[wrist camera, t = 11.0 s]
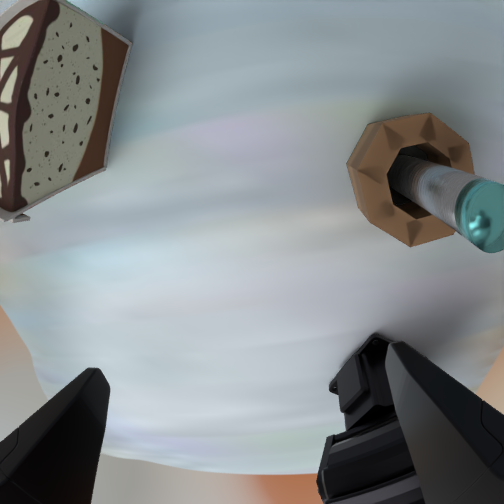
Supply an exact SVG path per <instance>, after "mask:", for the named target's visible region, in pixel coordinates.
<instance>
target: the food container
mask: <svg viewBox="0 0 504 504" xmlns="http://www.w3.org/2000/svg"><path fill="white" fill-rule="evenodd" d="M132 45H133V43H131V42H130V41H129V40H127V39H126V38H124V37H123V36H121V35H120V34H118V33H117V32H115V31H114V30H112V29H111V28H109V27H108V26H106V25H105V24H103V23H102V22H100V21H99V20H97V19H95V18H94V17H92V16H91V15H89V14H88V13H86V12H84V11H83V10H81V9H80V8H78V7H76V6H75V5H73V4H71V3H70V2H68V1H66V0H18V1H16V2H15V3H14V4H12V5H11V6H10V7H8V8H7V9H6V10H5V11H4V12H3V13H2V14H1V15H0V220H2V221H4V222H5V221H10V222H12V223H16V222H22V221H28V220H30V217H29V216H27V215H25V214H23V212H25V211H27V210H28V209H30V208H32V207H34V206H35V205H37V204H39V203H41V202H43V201H45V200H46V199H48V198H50V197H52V196H54V195H56V194H58V193H60V192H62V191H64V190H66V189H67V188H69V187H71V186H73V185H75V184H77V183H79V182H82V181H84V180H86V179H88V178H90V177H92V176H94V175H96V174H98V173H100V172H103V171H105V170H106V165H107V158H108V152H109V145H110V140H111V134H112V129H113V123H114V118H115V113H116V108H117V104H118V99H119V95H120V90H121V86H122V82H123V78H124V74H125V70H126V66H127V62H128V59H129V55H130V51H131V48H132Z"/></svg>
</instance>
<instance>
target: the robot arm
mask: <svg viewBox="0 0 504 504" xmlns="http://www.w3.org/2000/svg"><path fill="white" fill-rule="evenodd" d="M374 340H377V341H376V342H373V341H374ZM333 387H336V388H333ZM329 391H330V392H331V393H334V394H337V395H339V404H340V411H341V412H342V413H344V416H345V426H346V431H345V432H342V433H340V434H337V435H331V436H328V437H327V439H326V443H325V447H324V451H323V455H322V459H321V463H320V467H319V471H318V476H317V480H316V482H317V485H318V493H319V495H320V496H321V499H322V501H323V503H324V504H504V415H503V414H502V413H500V412H499V411H498V410H496V409H495V408H493V407H492V406H491V405H489V404H488V403H486V402H485V401H482V399H481V398H480V397H478V396H477V395H476V394H474V393H473V392H472V391H470V390H469V389H468V388H466V387H465V386H464V385H462V384H461V383H460V382H458V381H457V380H455V379H454V378H453V377H451V376H450V375H449V374H447V373H446V372H445V371H443V370H442V369H441V368H439V367H438V366H436V365H435V364H434V363H432V362H431V361H430V360H428V358H426V357H424V356H423V355H421V354H420V353H419V352H417V351H416V350H415V349H413V348H412V347H410V346H409V345H408V344H406V343H405V342H403V341H397V342H393V341H390V340H388V339H386V338H384V337H382V336H380V335H377V334H374V335H371V336H370V337H369V338H368V340H367V341H366V342H365V343H364V345H363V346H362V347H361V348H360V350H359V351H358V352H357V353H356V354H354V355H353V356H352V357H351V358H350V360H349V361H348V362H347V363H346V364H345V365H344V367H343V368H342V369H341V370H340V371H339V372H338V373H337V375H336V378H335V379H334V380H333V381H332V382H331V383H330V384H329ZM109 397H110V385H109V383H108V381H107V380H106V378H105V376H104V375H103V373H102V371H101V370H100V369H99V368H87V369H86V370H84V371H83V372H82V373H81V374H80V375H78V376H77V377H76V378H75V379H74V380H73V381H71V382H70V383H69V384H68V385H67V386H65V387H64V388H63V389H62V390H61V391H60V392H58V393H57V394H56V395H55V396H54V397H53V398H51V399H50V400H49V401H48V402H47V403H46V404H44V405H43V406H42V407H41V408H40V409H39V410H37V411H36V412H35V413H34V414H33V415H32V416H30V417H29V418H28V419H27V420H26V421H25V422H24V423H22V424H21V425H20V426H19V428H17V429H15V430H14V431H13V432H12V433H11V434H10V435H8V436H7V437H6V438H5V439H4V440H2V441H1V442H0V504H91V500H92V494H93V489H94V483H95V477H96V472H97V467H98V462H99V457H100V452H101V447H102V443H103V438H104V433H105V428H106V420H107V412H108V404H109Z"/></svg>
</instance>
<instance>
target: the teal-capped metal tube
mask: <svg viewBox="0 0 504 504" xmlns="http://www.w3.org/2000/svg"><path fill="white" fill-rule="evenodd" d="M386 176H387V180H388V184H389V185H390V186H391V187H392V188H393V189H394V190H396V191H398V192H399V193H401V194H402V195H404V196H405V197H407V198H408V199H410V200H412V201H413V202H415V203H416V204H418V205H419V206H421V207H422V208H424V209H425V210H427V211H428V212H430V213H431V214H432V215H434V216H435V217H437V218H438V219H440V220H441V221H443V222H444V223H445V224H447V225H448V226H450V227H451V228H452V229H454V230H455V231H457V232H458V233H459V234H461V235H462V236H463V237H465V238H466V239H467V240H469V241H470V242H471V243H473V244H474V245H475V246H477V247H478V248H479V249H481V250H482V251H484V252H487V253H496V252H499V251H501V250H503V249H504V185H503V184H500V183H497V182H494V181H491V180H489V179H486V178H483V177H480V176H477V175H473V174H470V173H467V172H464V171H461V170H457V169H454V168H451V167H447V166H444V165H440V164H437V163H433V162H430V161H426V160H422V159H418V158H414V157H411V156H407V155H398V156H396V158H395V160H394V162H393V163H392V165H391V167H390V169H389V171H388V173H387V174H386Z"/></svg>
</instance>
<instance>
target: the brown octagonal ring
mask: <svg viewBox="0 0 504 504" xmlns="http://www.w3.org/2000/svg"><path fill="white" fill-rule="evenodd" d="M412 145H415V146H417V147H418V148H420V149H421V150H422V151H424V152H425V153H427V157H428V161H430V162H433V163H437V164H440V165H444V166H447V167H451V168H454V169H457V170H461V171H464V172H467V173H470V174H473V175H474V169H473V163H472V157H471V152H470V147H469V143H468V142H467V141H466V140H464V139H463V138H462V137H461V136H459V135H458V134H457V133H456V132H455V131H453V130H452V129H451V128H449V127H448V126H447V125H446V124H444V123H443V122H442V121H440V120H439V119H438V118H436V117H435V116H434V115H432V114H431V113H423V114H414V115H407V116H402V117H397V118H393V119H389V120H384V121H380V122H376V123H371V124H368V125H367V127H366V129H365V131H364V132H363V134H362V136H361V138H360V140H359V142H358V144H357V145H356V147H355V149H354V151H353V153H352V155H351V156H350V158H349V160H348V162H347V168H348V171H349V175H350V178H351V182H352V186H353V190H354V193H355V197H356V201H357V205H358V208H359V209H360V211H361V212H362V213H363V214H364V216H365V217H366V218H367V220H368V221H369V222H370V223H371V224H373V225H375V226H376V227H378V228H380V229H381V230H383V231H385V232H386V233H388V234H390V235H391V236H393V237H395V238H396V239H398V240H399V241H401V242H403V243H404V244H406V245H407V246H409V247H413V246H417V245H420V244H423V243H427V242H430V241H433V240H437V239H440V238H443V237H447V236H450V235H453V234H454V233H455V230H454V229H452V228H451V227H450V226H448V225H447V224H445V223H444V222H443V221H441V220H440V219H438V218H437V217H435V216H434V215H432V214H431V213H430V212H428V211H427V210H425V209H424V208H422V207H421V206H419V205H418V204H416V203H415V202H413V201H412V202H408V203H405V204H401V205H397V204H395V203H394V202H392V197H391V193H390V189H389V184H388V180H387V176H386V174H387V173H388V171H389V169H390V167H391V165H392V163H393V162H394V160H395V158H396V156H397V154H398V152H399V151H400V149H401V148H404V147H408V146H412Z"/></svg>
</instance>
